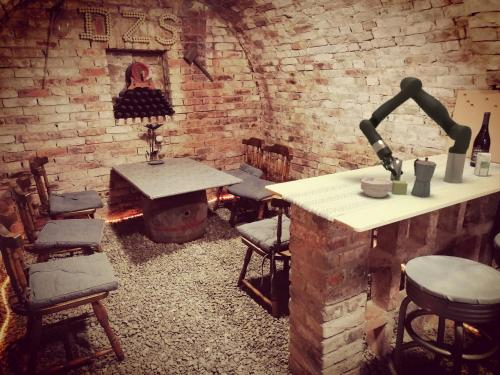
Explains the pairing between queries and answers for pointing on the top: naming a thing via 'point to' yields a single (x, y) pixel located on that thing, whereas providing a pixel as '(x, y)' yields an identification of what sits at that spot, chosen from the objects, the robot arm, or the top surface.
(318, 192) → the top surface
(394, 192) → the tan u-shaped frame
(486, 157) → the syrup box
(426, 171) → the moka pot
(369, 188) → the paper bowls
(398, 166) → the flanged base cylinder
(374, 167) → the top surface
